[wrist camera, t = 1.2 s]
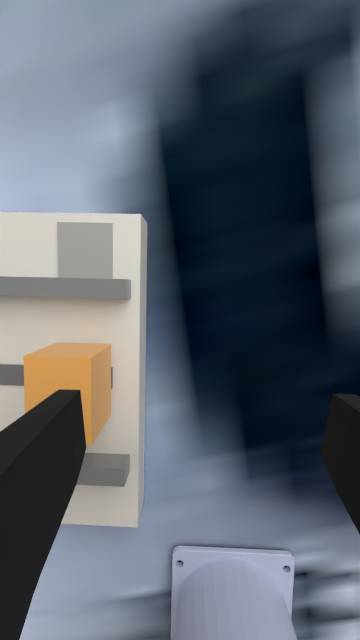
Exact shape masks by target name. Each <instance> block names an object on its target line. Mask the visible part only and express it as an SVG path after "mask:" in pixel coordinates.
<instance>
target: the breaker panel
mask: <svg viewBox="0 0 360 640" xmlns="http://www.w3.org/2000/svg"><path fill="white" fill-rule="evenodd" d="M146 287H147V223H146V221H145V220H144V218H143V217H142V215H141V214H96V213H29V212H0V431H2V430H3V429H5V428H6V427H7V426H9V425H10V424H11V423H13V422H14V421H16V420H17V419H18V418H20V417H21V416H23V415H24V414H25V395H24V358H23V356H24V355H27V354H29V353H32V352H34V351H37V350H39V349H42V348H44V347H47V346H49V345H52V344H54V343H57V342H60V343H95V344H111V416H110V417H109V419H108V420H107V422H106V423H105V425H104V427H103V428H102V430H101V431H100V433H99V435H98V436H97V438H96V439H95V441H94V442H93V444H92V445H86V451H85V455H84V459H83V463H82V467H81V470H80V474H79V477H78V481H77V484H76V487H75V489H74V492H73V494H72V497H71V499H70V502H69V504H68V507H67V509H66V512H65V514H64V517H63V519H62V522H61V524H78V525H99V526H121V527H138V524H139V520H140V515H141V511H142V506H143V502H144V458H145V373H146Z"/></svg>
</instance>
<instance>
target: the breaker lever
mask: <svg viewBox="0 0 360 640" xmlns="http://www.w3.org/2000/svg"><path fill="white" fill-rule="evenodd" d="M23 358H24V395H25V413H27V412H28V411H29V410H31V409H32V408H33V407H35V406H36V405H38V404H39V403H40V402H42V401H43V400H44V399H46V398H47V397H49V396H50V395H51V394H53V393H54V392H56V391H57V390H59V389H61V390H80V391H81V400H82V410H83V419H84V429H85V439H86V445H92V444H93V442H94V441H95V439H96V438H97V436H98V435H99V433H100V431H101V430H102V428H103V427H104V425H105V423H106V422H107V420H108V419H109V417H110V416H111V344H95V343H60V342H57V343H54V344H52V345H49V346H47V347H44V348H42V349H39V350H37V351H34V352H32V353H29V354H27V355H24V356H23Z"/></svg>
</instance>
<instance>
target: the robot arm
mask: <svg viewBox="0 0 360 640" xmlns="http://www.w3.org/2000/svg"><path fill="white" fill-rule="evenodd" d="M85 451H86V439H85V429H84V419H83V410H82V400H81V391H80V390H61V389H59V390H57V391H56V392H54V393H53V394H51V395H50V396H49V397H47V398H46V399H44V400H43V401H42V402H40V403H39V404H38V405H36V406H35V407H33V408H32V409H31V410H29V411H28V412H27V413H25V414H24V415H23V416H21V417H20V418H18V419H17V420H16V421H14V422H13V423H11V424H10V425H9V426H7V427H6V428H5V429H3V430H2V431H0V640H19V639H20V635H21V632H22V629H23V626H24V623H25V619H26V616H27V613H28V610H29V606H30V603H31V600H32V597H33V594H34V591H35V588H36V585H37V583H38V580H39V577H40V574H41V572H42V569H43V567H44V564H45V562H46V559H47V557H48V554H49V552H50V549H51V547H52V544H53V542H54V539H55V537H56V534H57V532H58V529H59V527H60V524H61V522H62V519H63V517H64V514H65V512H66V509H67V507H68V504H69V502H70V499H71V497H72V494H73V492H74V489H75V487H76V484H77V481H78V477H79V474H80V470H81V467H82V463H83V459H84V455H85ZM321 454H322V456H323V459H324V462H325V465H326V467H327V470H328V472H329V475H330V477H331V480H332V482H333V485H334V487H335V489H336V491H337V493H338V495H339V496H340V498H341V500H342V502H343V504H344V506H345V508H346V510H347V511H348V513H349V515H350V517H351V519H352V521H353V523H354V524H355V526H356V528H357V530H358V532H359V534H360V397H359V396H357V395H355V394H333V396H332V401H331V405H330V410H329V415H328V419H327V424H326V428H325V433H324V437H323V442H322V446H321ZM178 560H181V561H183V562H177V561H178ZM294 565H295V561H294V557H293V555H292V553H291V552H289V551H281V550H261V549H240V548H219V547H198V546H177V547H175V548H174V549H173V554H172V596H171V640H297V637H296V634H295V631H294V627H293V624H292V621H291V613H292V597H293V581H294ZM284 566H288V567H286V568H284Z"/></svg>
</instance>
